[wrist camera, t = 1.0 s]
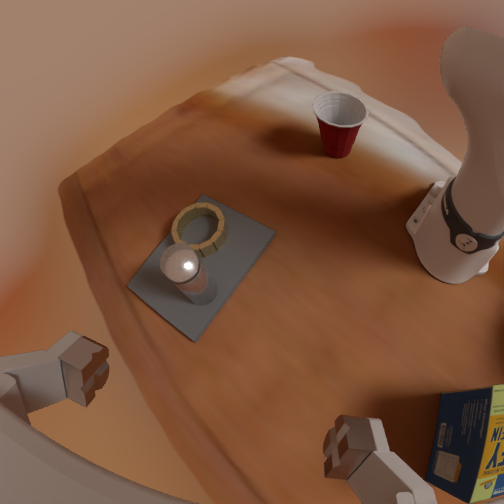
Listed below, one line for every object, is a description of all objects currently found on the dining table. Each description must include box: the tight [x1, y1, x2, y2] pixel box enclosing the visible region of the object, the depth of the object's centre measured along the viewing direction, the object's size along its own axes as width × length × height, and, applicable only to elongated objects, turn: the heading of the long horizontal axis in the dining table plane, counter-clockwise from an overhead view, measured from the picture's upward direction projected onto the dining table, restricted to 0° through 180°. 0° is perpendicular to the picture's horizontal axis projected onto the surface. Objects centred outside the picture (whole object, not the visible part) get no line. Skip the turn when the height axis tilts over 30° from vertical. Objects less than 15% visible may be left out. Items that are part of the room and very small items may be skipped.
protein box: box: [425, 384, 504, 504], centre depth 26 cm, size 10×15×16 cm
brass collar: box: [171, 203, 228, 258], centre depth 54 cm, size 10×10×3 cm
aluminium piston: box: [160, 243, 218, 306], centre depth 45 cm, size 5×5×12 cm
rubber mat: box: [127, 194, 276, 342], centre depth 53 cm, size 23×17×1 cm
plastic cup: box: [312, 91, 368, 158], centre depth 56 cm, size 11×11×12 cm
